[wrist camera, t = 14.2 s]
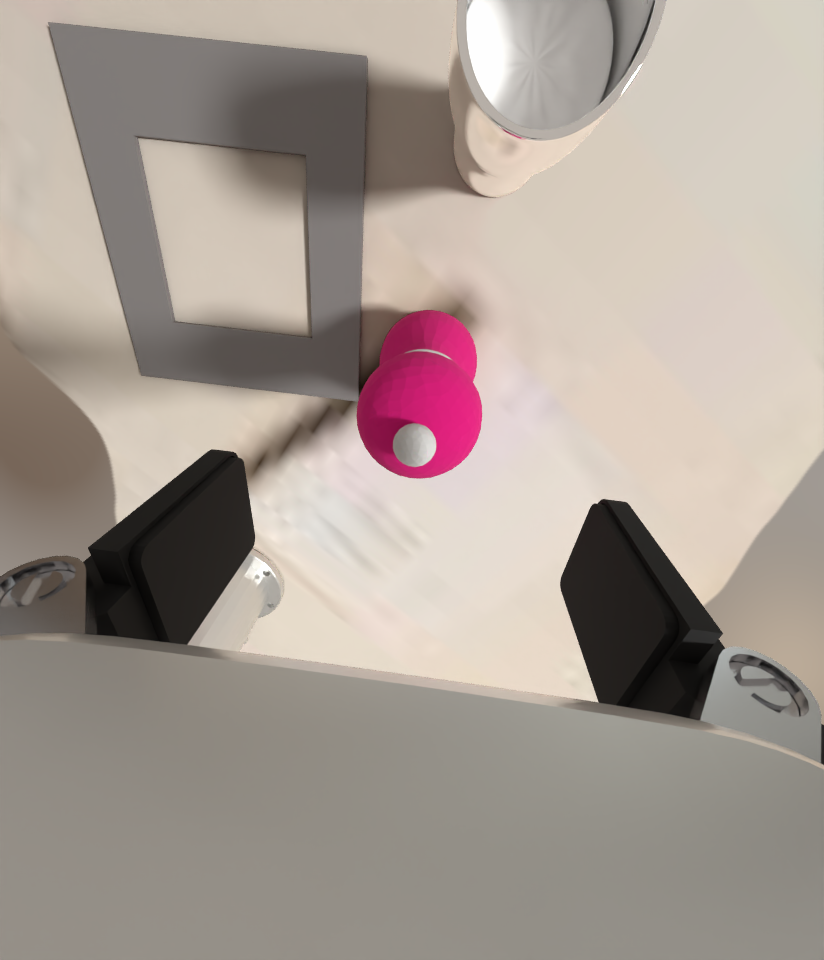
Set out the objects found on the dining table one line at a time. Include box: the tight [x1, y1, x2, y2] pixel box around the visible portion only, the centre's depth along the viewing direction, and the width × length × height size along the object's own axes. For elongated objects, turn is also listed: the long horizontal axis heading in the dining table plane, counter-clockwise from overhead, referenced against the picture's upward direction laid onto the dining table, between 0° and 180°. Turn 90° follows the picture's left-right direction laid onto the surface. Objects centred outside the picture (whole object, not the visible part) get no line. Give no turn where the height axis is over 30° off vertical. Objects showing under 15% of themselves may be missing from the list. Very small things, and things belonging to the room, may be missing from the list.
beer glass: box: [448, 0, 667, 197], centre depth 18 cm, size 7×7×15 cm
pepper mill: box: [357, 310, 482, 478], centre depth 23 cm, size 7×7×20 cm
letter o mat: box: [48, 22, 368, 401], centre depth 29 cm, size 22×20×1 cm
